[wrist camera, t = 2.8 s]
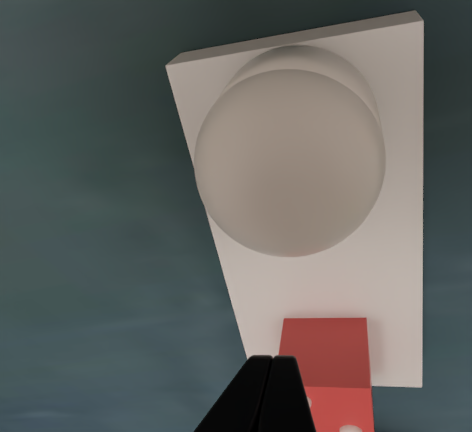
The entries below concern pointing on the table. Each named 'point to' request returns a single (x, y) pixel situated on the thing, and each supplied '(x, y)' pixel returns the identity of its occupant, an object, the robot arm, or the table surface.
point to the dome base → (346, 252)
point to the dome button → (291, 152)
